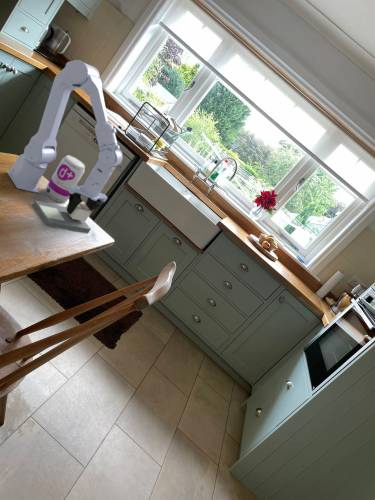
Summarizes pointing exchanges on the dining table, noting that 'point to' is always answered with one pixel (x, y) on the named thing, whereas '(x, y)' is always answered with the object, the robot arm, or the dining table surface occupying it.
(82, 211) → the white cube with stripe
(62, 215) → the board
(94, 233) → the dining table surface
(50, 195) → the supplement can
